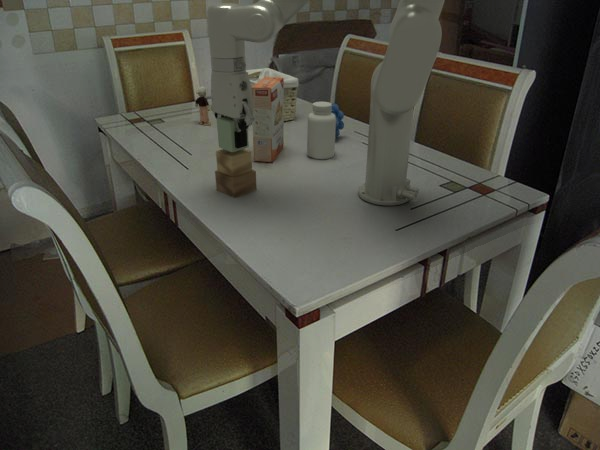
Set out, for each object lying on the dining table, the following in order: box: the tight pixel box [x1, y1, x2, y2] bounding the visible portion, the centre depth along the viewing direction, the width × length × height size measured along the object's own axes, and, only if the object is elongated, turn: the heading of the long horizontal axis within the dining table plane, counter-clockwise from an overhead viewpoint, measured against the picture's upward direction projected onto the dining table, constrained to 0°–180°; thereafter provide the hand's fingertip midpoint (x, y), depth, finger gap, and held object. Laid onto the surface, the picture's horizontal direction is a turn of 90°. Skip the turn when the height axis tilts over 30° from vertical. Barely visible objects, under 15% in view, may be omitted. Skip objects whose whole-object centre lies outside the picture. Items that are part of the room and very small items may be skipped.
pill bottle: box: [306, 101, 336, 160], centre depth 144 cm, size 8×8×15 cm
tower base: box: [214, 169, 258, 199], centre depth 124 cm, size 7×7×5 cm
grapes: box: [331, 103, 345, 138], centre depth 156 cm, size 12×7×12 cm, turn 124°
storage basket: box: [246, 67, 300, 122], centre depth 181 cm, size 24×16×15 cm
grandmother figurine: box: [194, 86, 212, 126], centre depth 172 cm, size 8×4×13 cm, turn 58°
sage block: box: [216, 116, 250, 152], centre depth 119 cm, size 5×5×7 cm
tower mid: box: [215, 148, 253, 177], centre depth 122 cm, size 6×6×5 cm
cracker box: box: [252, 77, 285, 163], centre depth 143 cm, size 14×6×21 cm, turn 168°
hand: (233, 143), depth 120 cm, fingers closed on sage block, 5 cm apart
